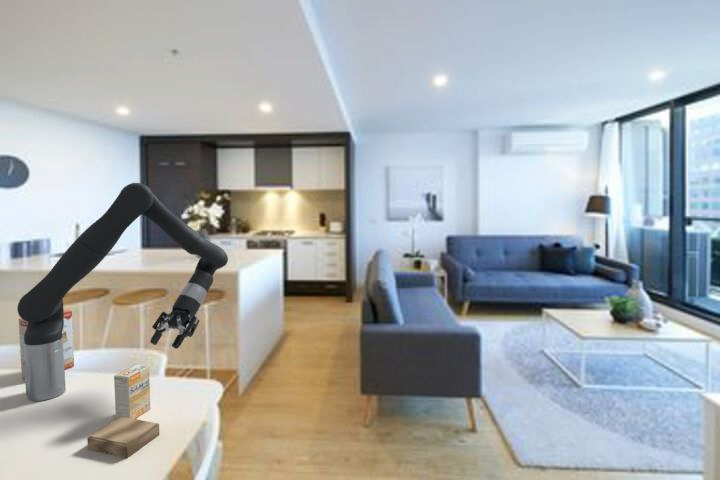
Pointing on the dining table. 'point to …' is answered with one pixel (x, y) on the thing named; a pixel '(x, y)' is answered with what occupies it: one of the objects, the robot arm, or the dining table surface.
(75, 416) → the dining table surface
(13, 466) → the dining table surface
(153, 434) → the brown square board
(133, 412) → the supplement box
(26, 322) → the cracker box
